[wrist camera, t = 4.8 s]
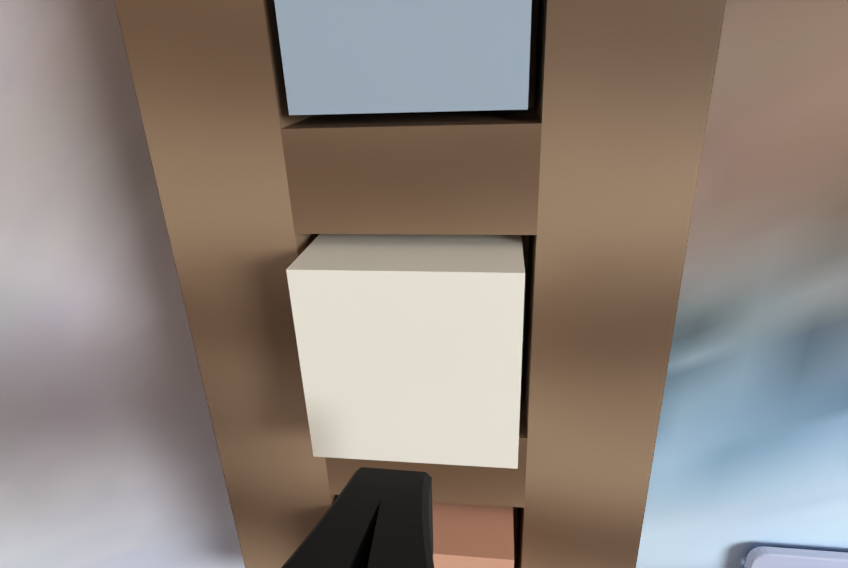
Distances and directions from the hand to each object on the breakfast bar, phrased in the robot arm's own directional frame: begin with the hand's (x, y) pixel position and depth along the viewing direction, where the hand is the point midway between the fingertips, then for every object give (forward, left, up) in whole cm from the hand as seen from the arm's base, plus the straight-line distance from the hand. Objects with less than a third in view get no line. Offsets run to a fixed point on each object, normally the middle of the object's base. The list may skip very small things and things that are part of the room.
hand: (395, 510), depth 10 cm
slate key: (+9, 0, -7) cm, 12 cm away
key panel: (+1, 0, -8) cm, 8 cm away
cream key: (+1, 0, -6) cm, 6 cm away
